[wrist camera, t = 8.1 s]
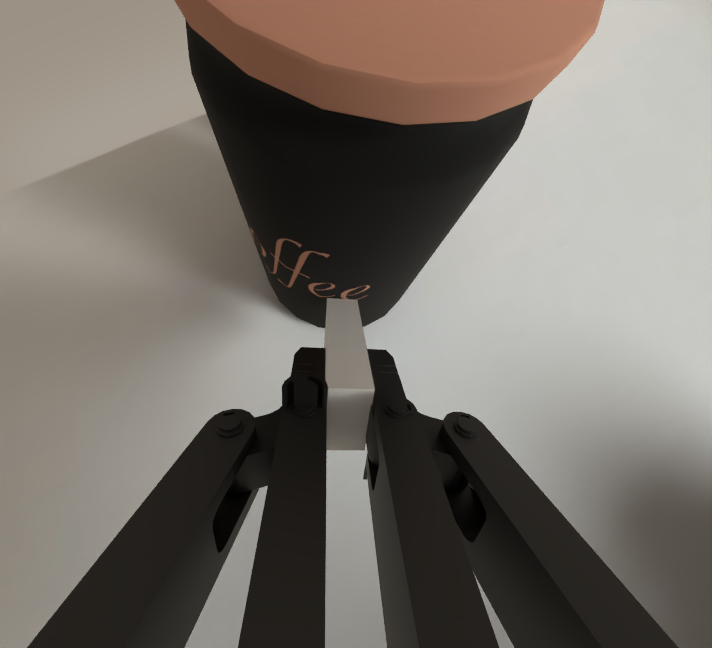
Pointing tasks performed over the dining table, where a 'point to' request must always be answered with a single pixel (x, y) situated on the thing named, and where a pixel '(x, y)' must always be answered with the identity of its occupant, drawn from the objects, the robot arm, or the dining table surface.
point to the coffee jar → (368, 125)
